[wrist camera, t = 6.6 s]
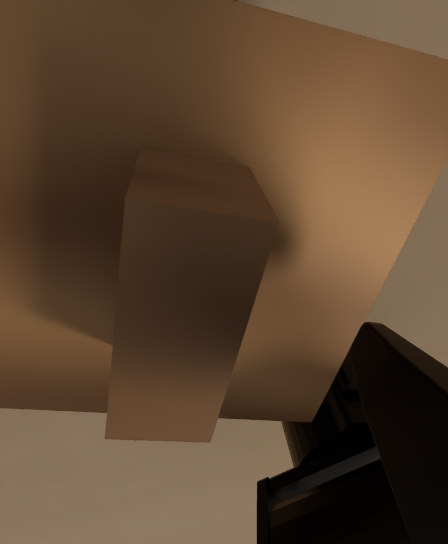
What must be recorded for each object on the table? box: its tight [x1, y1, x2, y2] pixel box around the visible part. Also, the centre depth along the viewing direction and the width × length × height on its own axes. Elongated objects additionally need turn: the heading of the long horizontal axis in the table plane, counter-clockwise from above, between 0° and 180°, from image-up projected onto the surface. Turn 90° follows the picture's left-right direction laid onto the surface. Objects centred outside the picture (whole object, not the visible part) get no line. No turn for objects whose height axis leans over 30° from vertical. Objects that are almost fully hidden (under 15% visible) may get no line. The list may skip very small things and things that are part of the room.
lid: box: [0, 0, 448, 442], centre depth 9 cm, size 12×12×4 cm
